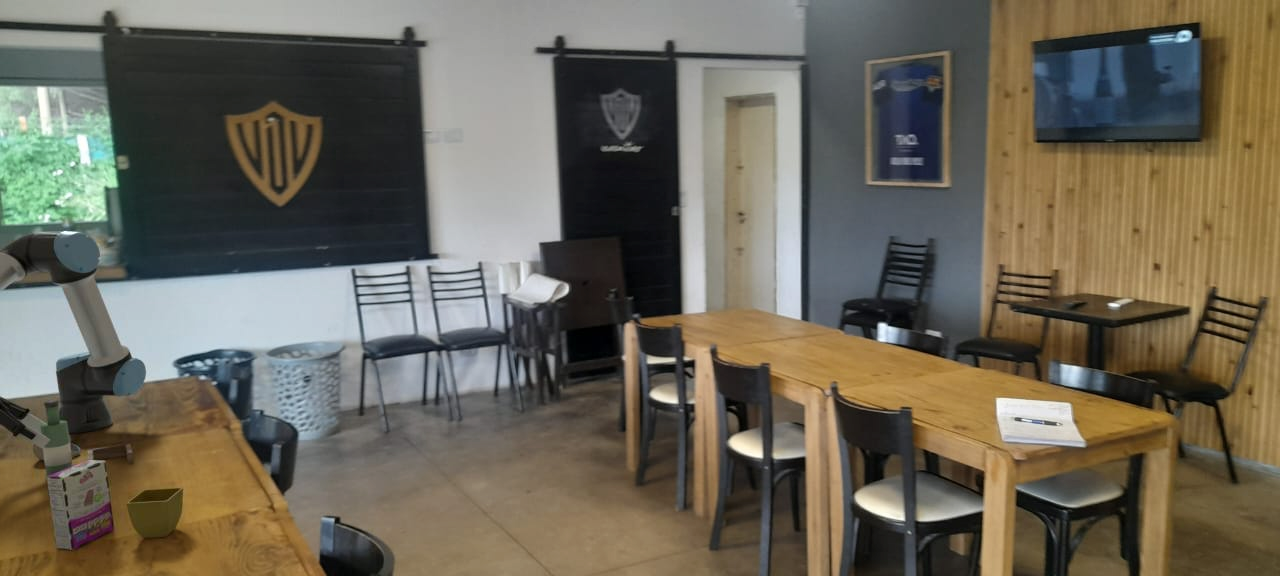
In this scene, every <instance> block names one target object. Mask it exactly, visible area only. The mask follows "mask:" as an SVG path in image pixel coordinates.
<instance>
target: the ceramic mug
mask: <svg viewBox="0 0 1280 576" xmlns="http://www.w3.org/2000/svg"><path fill="white" fill-rule="evenodd" d="M69 441H70V448H71V456H72V458H74V457H78V456H79V454H80V452H81V448H80V447H79V446H78V445H76V444H74V443H72V438H71V435H70V434H69ZM32 453H33V454H34V456H35V457H36V458H37V459H38V460H40V461H44V454H43V448H40V447H39V446H37V445H35V444H34V443H33V446H32Z"/></svg>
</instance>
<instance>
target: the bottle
mask: <svg viewBox="0 0 1280 576" xmlns="http://www.w3.org/2000/svg"><path fill="white" fill-rule="evenodd" d="M43 406H44V408H45V415H46V422H44V424H42V425H41V426H40V428H41V434H42V435H44V436H45V437H47V438H49V439H50V441H49V442H48V443H47V444H46V445H45V446H44V447H43V454H44V460H43V461H44V467H45V475H46V477H47V476H50V475H52V474H55V473H57V472H60V471H62V470H65V469H67V468H69V467H72V466H73V459H72V458H73V457H72V456H71V452H72V449H71V448H70V441H69V435H70V433H68V424H67V421H60V418H59V410H60V409H59V406H60V401H59V400H56V399H55V400H53V399H52V400H48V401H44V402H43Z"/></svg>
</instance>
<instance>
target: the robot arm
mask: <svg viewBox="0 0 1280 576" xmlns="http://www.w3.org/2000/svg"><path fill="white" fill-rule="evenodd" d="M100 252H101V251H100V248H99V246H98V244H97V242H96V241H95V240H94V238H92V237H91V236H90V235H89V234H87V233H84V232H79V231H72V230H65V231H34V232H30V233H26V234H24V235H21V236H20V237H18V238H16V239H14V240H13V241H11V242H9V243H8V244H6V245H5V246H3V247H2V248H0V293H1V292H2V291H3V290H5V289H6V288H7V287H8V286H9V285H11V284H12V283H13V282H19V281H22V280H24V278H26V277H27V276H29V275H32V274H35V273H39V272H41V273H48V274H49V276H50V279H51V281H52V283H53V284H54V285H57V286H60V287H61V289H62V292H63V293H64V296H65V299H66V300H67V304H68V306H69V308H70V310H71V312H72V314H73V315H72V316H73V317H74V320H75V322H76V324H77V327H78V330H79V332H80V333H81V336H82V339H83V341H84V343H85V346H86V348H87V352H81V353H80V352H79V353H76V354H70V355H67V356H63V357H60V358H58V359H57V361H56V362H55V367H56V369H55V374H56V380H57V388H58V396H59V409H58V410H59V418H60V421H67V424H68V433H69V434H78V433H80V434H81V433H86V432H87V433H88V432H91V431H97V430H101V429H103V428H104V429H105V428H107V427H109V426H111V425H112V424H113V417H112V416H113V415H112V413H111V411H110V409H109V408H108V405H107V403H106V402H105V399H104V396H111V397H114V396H115V397H117V398H118V397H119V398H120V397H130V396H133V395H135V394H136V393H138V392H139V390H141V389H142V387H143V385H144V384H145V380H146V377H147V370H146V369H147V368H146V365H145V363H144V361H142V360H141V359H139V358H137V357H133V356H132V353H131V351H130V349H129V347H128V346H125V345H122V343H121V341H120V339H119V335H118V334H117V331H116V329H115V327H114V324H113V321H112V319H111V317H110V314H109V311H108V309H107V306H106V304H105V301H104V299H103V296H102V295H101V292H100V288H99V287H98V284H97V281H96V279H95V275H96V274H97V272H98V268H97V267H98V265H99V263H100V259H99V258H100V257H101V254H100ZM30 412H31V410H30V409H29V408H27V407H26V408H25V407H23V406H21V405H19V404H18V403H17V404H16V403H15V402H12V401H11V400H8V399H7V398H4V397H2V396H1V395H0V425H1V426H2V427H3V428H5V429H6V430H8V431H9V432H11V434H12V437H18V436H20V437H22V438H24V439H25V440H27V441H29V442H31V443H32V444H33V445H34V444H35V445H37V446H39V447H40V448H43V447H44V446H45V445H46V444H47V443H48V442H49V441H50V439H49V438H47V437H45V436H44V435H42V434H41V428H40V426H41V425H42V424H44V423H45V422H44V421H43V420H41V419H40V418H38V417H36V416H35V415H33V414H31V413H30Z"/></svg>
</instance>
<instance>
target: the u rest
mask: <svg viewBox="0 0 1280 576" xmlns="http://www.w3.org/2000/svg"><path fill="white" fill-rule="evenodd" d="M123 456H126V458H127V463H128V465H131V464H134V458H133V457H134V456H133V449H132V445H131V443H130V442H127V443H122V444H115V445H108V446H102V447H98V448H97V447H96V448H91V449H87V460H105V459H106V460H107V459H113V458H116V457H123Z"/></svg>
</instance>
